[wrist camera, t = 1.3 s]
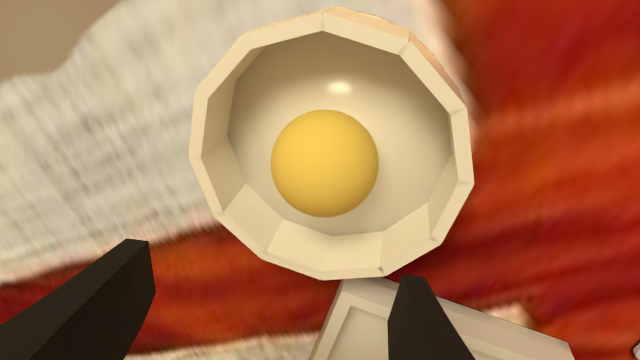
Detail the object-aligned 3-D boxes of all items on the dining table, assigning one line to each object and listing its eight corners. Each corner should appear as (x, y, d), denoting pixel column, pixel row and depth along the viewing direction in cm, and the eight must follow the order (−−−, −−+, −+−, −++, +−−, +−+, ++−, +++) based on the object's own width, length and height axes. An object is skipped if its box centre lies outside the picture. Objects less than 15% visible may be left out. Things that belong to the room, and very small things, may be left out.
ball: (396, 114, 18) (392, 156, 14) (364, 197, 21) (352, 254, 16) (299, 82, 18) (267, 115, 14) (279, 168, 21) (246, 217, 17)
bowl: (508, 57, 17) (532, 79, 14) (405, 259, 23) (405, 309, 20) (246, -26, 18) (206, -25, 14) (214, 192, 24) (181, 230, 20)
